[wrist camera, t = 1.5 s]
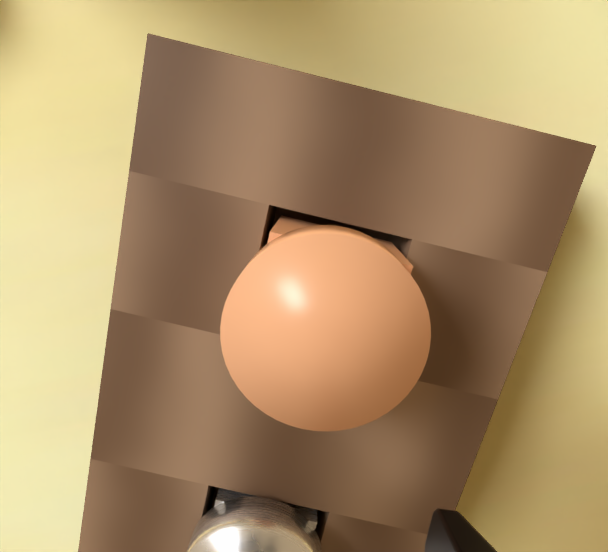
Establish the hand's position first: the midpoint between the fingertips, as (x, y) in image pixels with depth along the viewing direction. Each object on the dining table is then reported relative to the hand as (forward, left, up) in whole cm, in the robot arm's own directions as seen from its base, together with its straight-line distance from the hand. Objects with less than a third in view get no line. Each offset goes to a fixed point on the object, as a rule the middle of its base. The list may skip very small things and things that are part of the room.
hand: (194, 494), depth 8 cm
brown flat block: (-2, +3, -13) cm, 13 cm away
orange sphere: (-2, -2, -9) cm, 9 cm away
